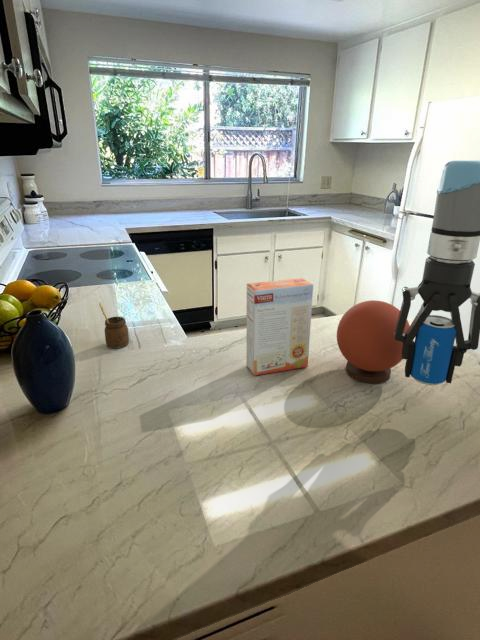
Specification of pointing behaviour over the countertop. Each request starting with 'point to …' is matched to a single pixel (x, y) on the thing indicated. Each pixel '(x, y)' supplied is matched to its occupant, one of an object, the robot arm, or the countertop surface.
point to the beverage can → (433, 350)
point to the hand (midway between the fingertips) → (427, 376)
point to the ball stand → (370, 341)
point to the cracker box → (278, 325)
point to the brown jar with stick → (116, 331)
